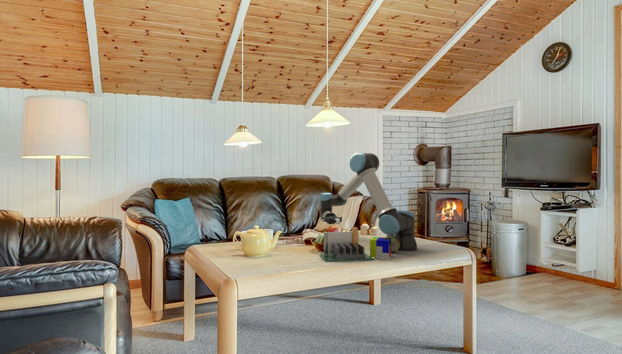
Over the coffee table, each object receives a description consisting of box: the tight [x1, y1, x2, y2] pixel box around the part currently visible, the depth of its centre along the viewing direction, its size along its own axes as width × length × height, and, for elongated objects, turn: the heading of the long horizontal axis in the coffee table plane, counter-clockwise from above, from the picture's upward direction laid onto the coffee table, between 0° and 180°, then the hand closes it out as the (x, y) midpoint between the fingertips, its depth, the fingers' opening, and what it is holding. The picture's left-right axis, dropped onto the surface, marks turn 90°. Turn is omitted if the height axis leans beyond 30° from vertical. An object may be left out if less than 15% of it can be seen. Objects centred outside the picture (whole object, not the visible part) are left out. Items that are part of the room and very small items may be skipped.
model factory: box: [319, 226, 374, 263], centre depth 227 cm, size 26×15×16 cm, turn 100°
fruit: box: [384, 234, 400, 253], centre depth 244 cm, size 10×9×12 cm
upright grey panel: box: [323, 231, 360, 254], centre depth 232 cm, size 20×2×12 cm, turn 99°
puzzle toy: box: [369, 236, 392, 260], centre depth 231 cm, size 10×10×10 cm
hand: (338, 222), depth 246 cm, fingers closed
